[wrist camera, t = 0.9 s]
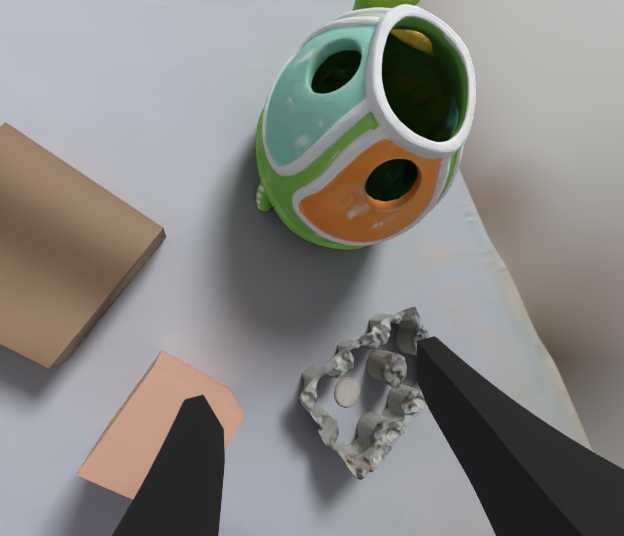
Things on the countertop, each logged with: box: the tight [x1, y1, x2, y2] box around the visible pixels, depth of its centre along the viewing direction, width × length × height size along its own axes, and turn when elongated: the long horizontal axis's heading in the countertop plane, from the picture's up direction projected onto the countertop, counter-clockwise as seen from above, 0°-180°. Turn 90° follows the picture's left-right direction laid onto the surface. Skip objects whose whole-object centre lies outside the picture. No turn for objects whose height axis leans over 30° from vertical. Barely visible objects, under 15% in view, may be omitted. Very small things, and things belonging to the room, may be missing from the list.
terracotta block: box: [76, 350, 245, 500], centre depth 18 cm, size 5×5×6 cm
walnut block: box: [0, 122, 166, 369], centre depth 18 cm, size 9×9×3 cm
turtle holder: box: [256, 0, 476, 250], centre depth 21 cm, size 12×18×12 cm
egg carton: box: [299, 307, 429, 480], centre depth 24 cm, size 11×8×4 cm
